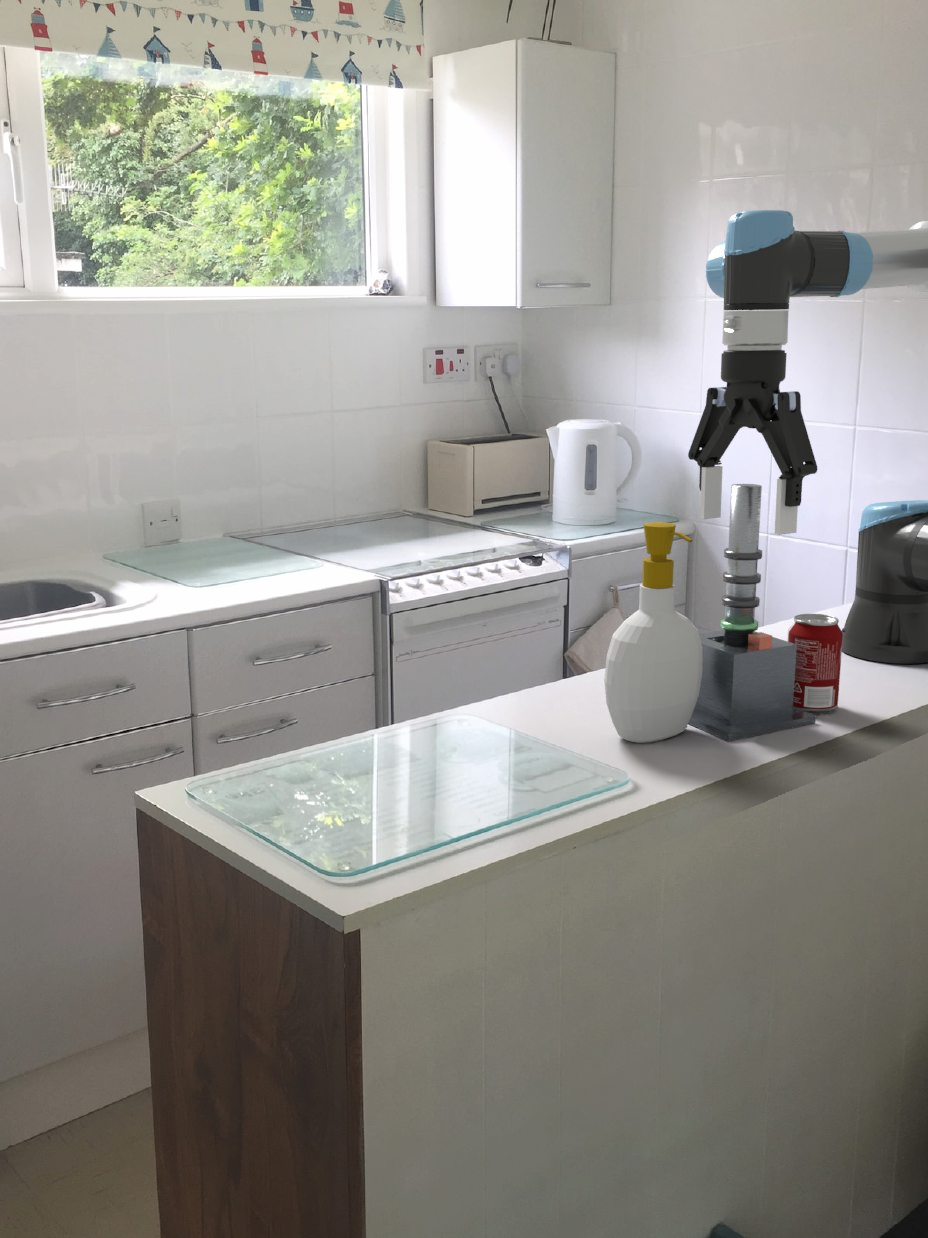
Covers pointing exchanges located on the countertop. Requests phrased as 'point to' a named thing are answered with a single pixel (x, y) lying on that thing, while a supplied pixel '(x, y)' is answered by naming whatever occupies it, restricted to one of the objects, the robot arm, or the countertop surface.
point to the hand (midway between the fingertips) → (746, 525)
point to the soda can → (816, 662)
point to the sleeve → (747, 687)
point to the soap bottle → (654, 653)
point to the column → (742, 565)
